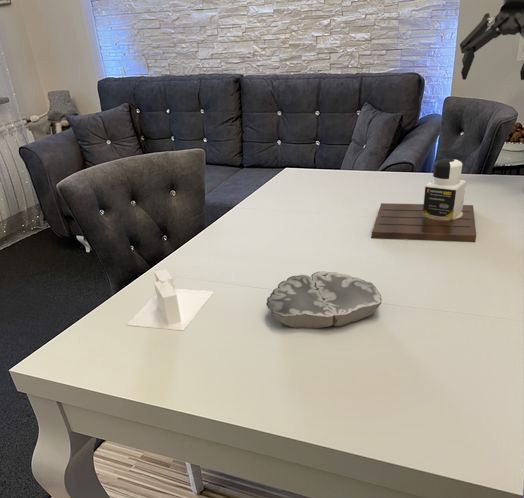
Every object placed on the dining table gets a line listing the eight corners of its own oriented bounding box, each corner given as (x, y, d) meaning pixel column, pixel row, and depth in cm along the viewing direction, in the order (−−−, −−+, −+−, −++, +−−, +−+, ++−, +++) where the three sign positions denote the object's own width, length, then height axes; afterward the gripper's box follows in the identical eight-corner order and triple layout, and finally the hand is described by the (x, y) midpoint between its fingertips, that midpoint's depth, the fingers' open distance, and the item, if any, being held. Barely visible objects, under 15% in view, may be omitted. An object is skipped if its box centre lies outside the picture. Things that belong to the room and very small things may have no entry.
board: (472, 211, 130) (473, 204, 129) (475, 241, 114) (476, 234, 113) (380, 208, 136) (380, 202, 135) (371, 238, 120) (371, 230, 119)
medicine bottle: (422, 215, 125) (427, 163, 119) (433, 206, 130) (438, 155, 123) (452, 219, 121) (459, 165, 115) (462, 210, 126) (469, 158, 120)
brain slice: (358, 280, 103) (358, 266, 101) (391, 323, 89) (392, 307, 87) (258, 294, 101) (256, 280, 99) (275, 340, 86) (274, 324, 85)
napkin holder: (184, 330, 91) (179, 300, 88) (125, 325, 94) (118, 296, 91) (214, 291, 103) (211, 263, 100) (161, 287, 106) (156, 260, 103)
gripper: (578, 7, 126) (549, 87, 124) (471, 13, 139) (443, 85, 137) (579, -20, 119) (548, 64, 118) (467, -11, 133) (438, 65, 131)
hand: (491, 76), depth 127 cm, fingers open, 13 cm apart
